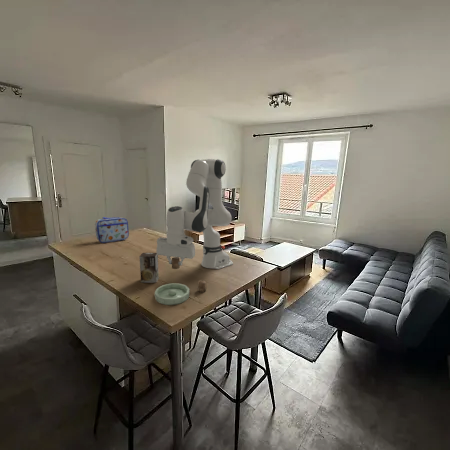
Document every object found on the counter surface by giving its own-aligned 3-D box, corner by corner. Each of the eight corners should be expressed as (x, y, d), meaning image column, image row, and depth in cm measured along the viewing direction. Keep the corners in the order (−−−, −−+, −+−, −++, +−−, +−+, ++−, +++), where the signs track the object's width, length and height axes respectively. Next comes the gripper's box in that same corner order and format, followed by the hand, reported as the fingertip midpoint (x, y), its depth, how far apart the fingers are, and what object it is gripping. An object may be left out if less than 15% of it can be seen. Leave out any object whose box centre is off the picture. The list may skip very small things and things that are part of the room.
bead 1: (170, 268, 125) (170, 259, 124) (173, 265, 128) (173, 256, 127) (177, 269, 124) (177, 260, 123) (180, 266, 128) (180, 257, 127)
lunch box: (97, 244, 206) (95, 219, 201) (94, 241, 213) (92, 217, 209) (130, 239, 223) (128, 216, 218) (126, 237, 231) (125, 214, 226)
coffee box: (159, 278, 145) (158, 252, 142) (156, 282, 139) (155, 256, 135) (143, 277, 145) (142, 252, 141) (140, 282, 138) (139, 255, 135)
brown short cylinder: (203, 288, 134) (203, 280, 133) (207, 291, 131) (207, 282, 130) (197, 290, 132) (197, 281, 131) (200, 293, 129) (200, 284, 128)
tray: (181, 285, 136) (181, 280, 135) (194, 299, 122) (194, 293, 121) (151, 292, 127) (151, 287, 126) (161, 308, 113) (161, 302, 112)
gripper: (153, 238, 122) (154, 264, 125) (191, 242, 118) (191, 268, 120) (159, 235, 128) (160, 260, 131) (196, 239, 124) (196, 264, 126)
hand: (175, 264), depth 126 cm, fingers closed on bead 1, 4 cm apart
